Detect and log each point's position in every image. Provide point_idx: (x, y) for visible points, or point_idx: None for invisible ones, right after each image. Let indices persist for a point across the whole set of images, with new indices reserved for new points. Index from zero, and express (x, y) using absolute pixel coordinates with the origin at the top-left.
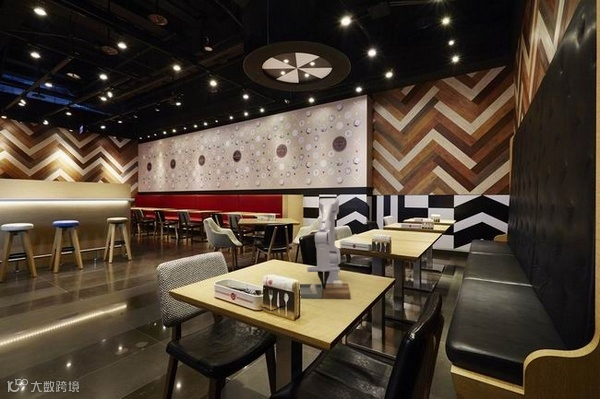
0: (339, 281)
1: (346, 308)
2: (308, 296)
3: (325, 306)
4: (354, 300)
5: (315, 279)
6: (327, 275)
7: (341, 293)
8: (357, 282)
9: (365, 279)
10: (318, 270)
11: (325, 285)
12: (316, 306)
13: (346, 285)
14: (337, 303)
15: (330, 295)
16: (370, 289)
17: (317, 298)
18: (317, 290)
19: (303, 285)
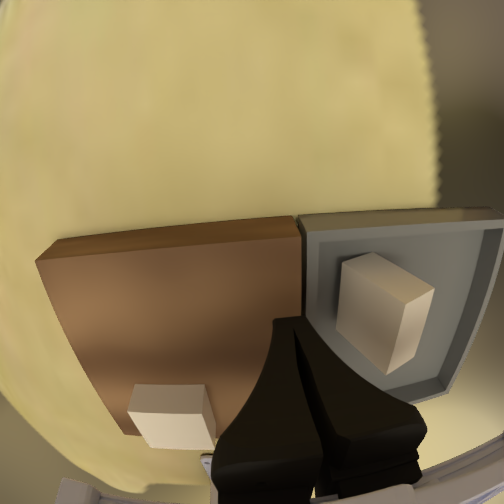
0: (161, 437)
1: (64, 41)
2: (419, 215)
3: (246, 35)
4: (30, 220)
5: None
6: (246, 440)
7: (99, 255)
8: (116, 457)
9: (99, 471)
10: (441, 486)
11: (275, 338)
12: (332, 32)
13: (120, 411)
14: (138, 123)
15: (212, 234)
16: (26, 387)
17: (339, 212)
18: (346, 324)
19: (422, 391)
